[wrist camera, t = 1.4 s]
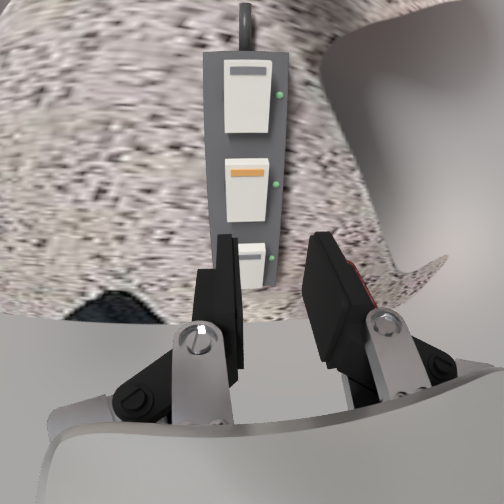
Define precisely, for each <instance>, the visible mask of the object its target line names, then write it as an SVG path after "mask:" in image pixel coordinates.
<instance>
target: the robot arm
mask: <svg viewBox="0 0 504 504" xmlns="http://www.w3.org/2000/svg"><path fill="white" fill-rule="evenodd" d="M302 296H303V300H304V303H305V307H306V310H307V313H308V317H309V320H310V324H311V327H312V330H313V334H314V338H315V341H316V344H317V348H318V352H319V355H320V359H321V361H322V362H326V365H327V368H328V369H333V368H337V370H338V371H339V372H341V373H342V381H343V386H344V391H345V395H346V401H347V405H348V411H344V412H339V413H334V414H328V415H322V416H316V417H310V418H303V419H296V420H288V421H278V422H267V423H254V424H236V425H234V420H233V414H232V406H231V400H230V391H229V388H230V387H231V386H232V385H233V384H234V383H235V382H237V381H238V369H244V356H243V355H244V353H243V309H242V294H241V280H240V265H239V249H238V237H234V238H232V234H218V235H217V254H216V269H198V271H197V278H196V287H195V295H194V304H193V314H192V322H189V323H187V324H184V325H183V326H181V327H180V328H179V329H178V330H177V332H176V333H175V335H174V339H173V349H172V350H170V351H169V352H167V353H166V354H164V355H163V356H162V357H161V358H159V359H158V360H156V361H155V362H153V363H152V364H151V365H149V366H148V367H146V368H145V369H143V370H142V371H141V372H139V373H138V374H136V375H135V376H134V377H132V378H131V379H129V380H128V381H126V382H125V383H124V384H122V385H121V386H120V387H119V388H118V389H117V390H116V392H115V393H114V395H111V396H108V397H107V396H106V395H105V394H104V395H101V396H97V397H94V398H91V399H87V400H84V401H81V402H77V403H74V404H70V405H67V406H63V407H59V408H57V409H55V410H53V411H52V412H51V413H50V415H49V417H48V420H47V430H48V435H49V440H50V444H49V446H48V449H47V451H46V453H45V456H44V459H43V463H42V466H41V470H40V475H39V481H38V487H37V495H36V504H504V368H502V367H494V366H493V365H490V364H487V363H480V362H474V361H467V360H462V359H455V361H454V360H453V359H452V357H451V356H450V355H448V354H447V353H445V352H443V351H441V350H439V349H437V348H435V347H433V346H431V345H429V344H427V343H425V342H423V341H421V340H419V339H417V338H415V337H413V336H411V334H410V332H409V330H408V327H407V325H406V323H405V321H404V320H403V318H402V317H401V316H400V315H399V314H398V313H397V312H395V311H393V310H391V309H388V308H375V306H374V304H373V302H372V300H371V298H370V296H369V294H368V293H367V291H366V289H365V287H364V285H363V283H362V281H361V280H360V278H359V276H358V274H357V272H356V270H355V269H354V267H353V265H352V264H350V263H348V262H347V261H346V259H345V257H344V255H343V253H342V252H341V250H340V248H339V246H338V245H337V243H336V241H335V239H334V238H333V236H332V234H331V233H330V232H329V231H327V232H315V234H314V235H311V236H310V238H309V245H308V252H307V258H306V265H305V271H304V278H303V284H302Z"/></svg>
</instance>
